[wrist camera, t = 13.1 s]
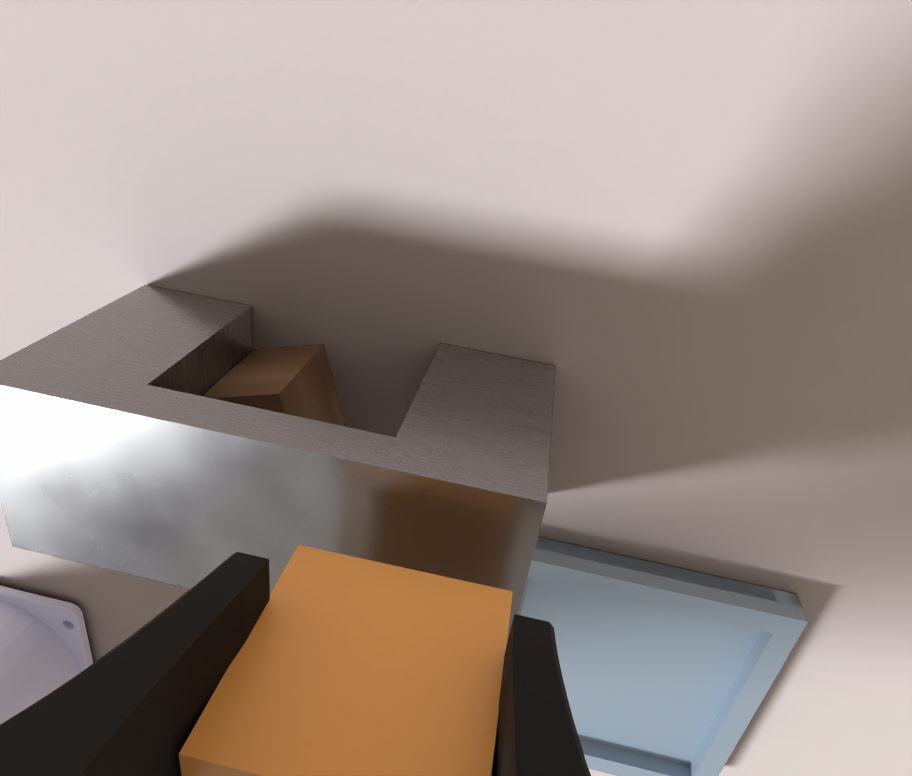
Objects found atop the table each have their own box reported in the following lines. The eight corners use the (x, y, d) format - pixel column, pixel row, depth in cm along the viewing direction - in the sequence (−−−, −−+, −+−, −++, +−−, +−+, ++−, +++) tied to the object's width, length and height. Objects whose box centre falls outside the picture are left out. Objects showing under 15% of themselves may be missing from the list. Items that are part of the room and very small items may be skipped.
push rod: (402, 635, 26) (378, 716, 22) (346, 634, 26) (315, 713, 23) (326, 341, 20) (278, 393, 17) (257, 346, 20) (198, 398, 17)
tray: (700, 767, 26) (705, 797, 25) (461, 708, 27) (456, 735, 26) (796, 593, 21) (808, 622, 20) (501, 528, 22) (497, 552, 21)
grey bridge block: (524, 498, 21) (504, 663, 15) (159, 419, 22) (12, 546, 16) (555, 366, 19) (546, 502, 13) (145, 285, 20) (-33, 377, 14)
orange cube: (483, 718, 14) (449, 960, 10) (297, 674, 15) (198, 892, 11) (513, 591, 12) (484, 832, 8) (298, 544, 13) (177, 754, 9)
